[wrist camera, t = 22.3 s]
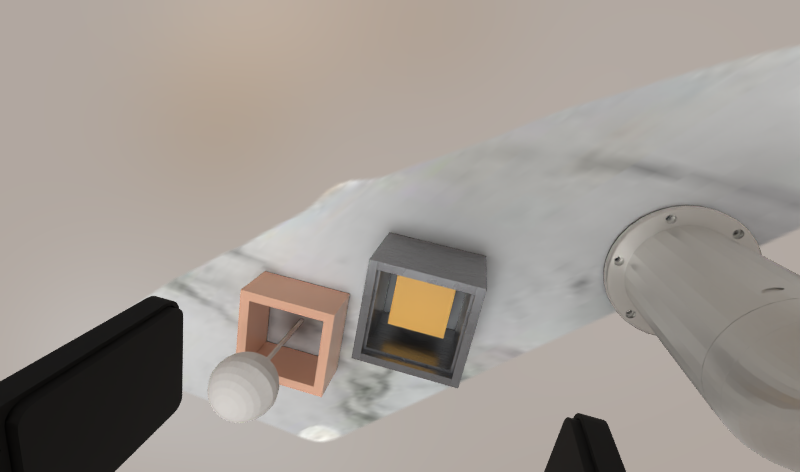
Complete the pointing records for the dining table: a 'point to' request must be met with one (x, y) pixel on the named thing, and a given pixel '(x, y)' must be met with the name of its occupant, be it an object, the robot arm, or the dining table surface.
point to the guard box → (412, 347)
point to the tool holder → (301, 300)
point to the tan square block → (421, 306)
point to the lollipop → (245, 384)
